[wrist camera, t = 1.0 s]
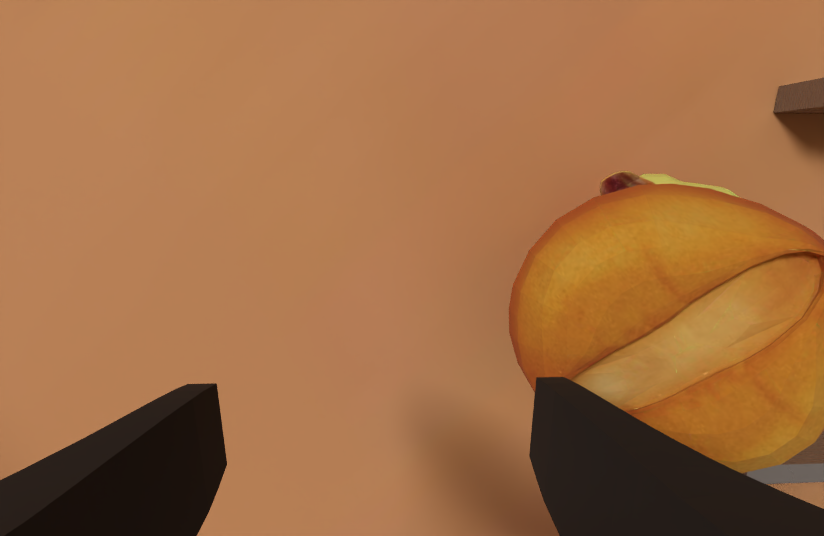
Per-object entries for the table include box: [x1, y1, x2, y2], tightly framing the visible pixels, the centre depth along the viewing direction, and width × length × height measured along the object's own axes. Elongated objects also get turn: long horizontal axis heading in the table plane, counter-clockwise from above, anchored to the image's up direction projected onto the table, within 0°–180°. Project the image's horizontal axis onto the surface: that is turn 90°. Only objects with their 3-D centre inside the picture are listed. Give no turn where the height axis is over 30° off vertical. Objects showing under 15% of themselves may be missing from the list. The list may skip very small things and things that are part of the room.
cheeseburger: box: [509, 171, 824, 473], centre depth 15 cm, size 10×11×10 cm
